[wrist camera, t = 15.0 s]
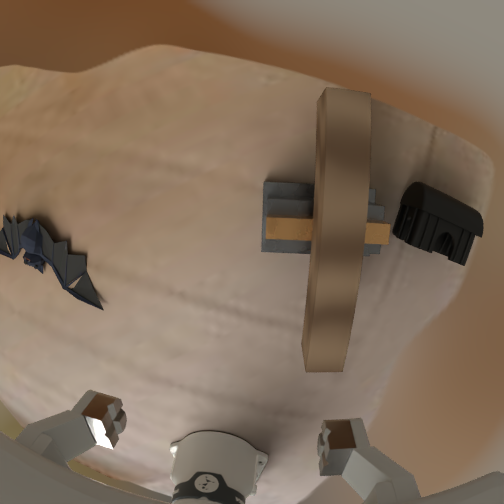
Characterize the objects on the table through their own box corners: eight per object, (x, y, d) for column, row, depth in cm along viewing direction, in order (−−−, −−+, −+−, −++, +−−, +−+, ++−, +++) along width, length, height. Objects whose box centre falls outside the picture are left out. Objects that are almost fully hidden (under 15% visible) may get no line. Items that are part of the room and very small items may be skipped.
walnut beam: (316, 101, 24) (326, 87, 19) (353, 105, 24) (370, 93, 19) (301, 343, 30) (305, 372, 25) (333, 344, 30) (342, 371, 25)
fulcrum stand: (365, 253, 35) (388, 273, 28) (261, 248, 36) (259, 269, 28) (371, 188, 33) (397, 193, 26) (263, 181, 34) (261, 184, 26)
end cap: (460, 206, 33) (489, 213, 26) (445, 254, 35) (471, 269, 28) (404, 179, 33) (429, 182, 26) (387, 232, 35) (409, 245, 28)
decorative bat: (103, 258, 34) (97, 320, 37) (118, 247, 38) (110, 306, 41) (-22, 195, 33) (-22, 248, 36) (-6, 191, 37) (-7, 241, 40)
